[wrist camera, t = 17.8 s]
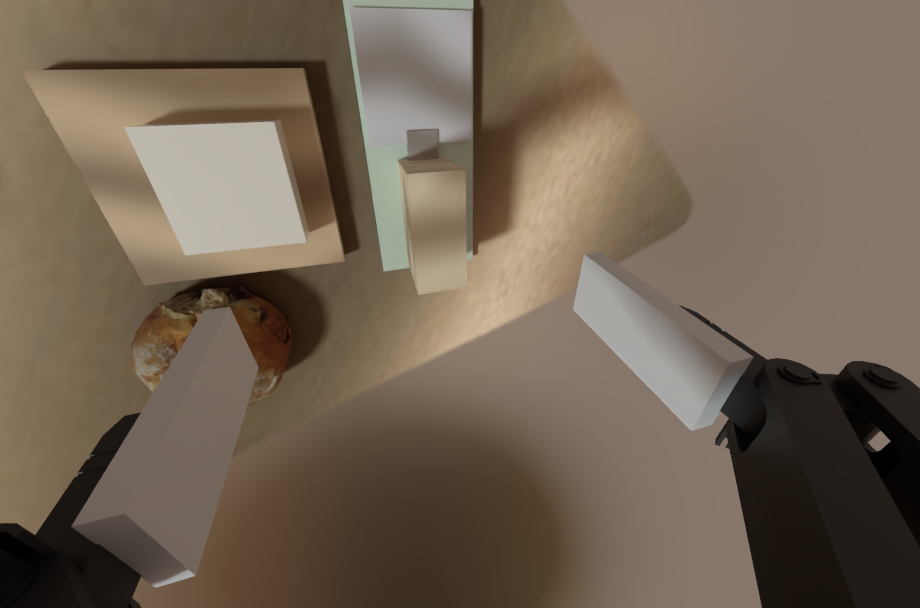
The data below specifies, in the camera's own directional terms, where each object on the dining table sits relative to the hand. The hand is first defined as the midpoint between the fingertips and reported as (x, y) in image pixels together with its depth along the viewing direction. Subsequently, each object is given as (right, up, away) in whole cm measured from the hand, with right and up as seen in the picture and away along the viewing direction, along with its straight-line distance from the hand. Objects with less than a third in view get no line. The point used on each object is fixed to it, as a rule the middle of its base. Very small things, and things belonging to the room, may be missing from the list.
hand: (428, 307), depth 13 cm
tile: (-16, +7, +7) cm, 19 cm away
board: (-14, +8, +9) cm, 19 cm away
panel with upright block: (-1, +10, +11) cm, 15 cm away
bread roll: (-18, -2, +15) cm, 23 cm away
